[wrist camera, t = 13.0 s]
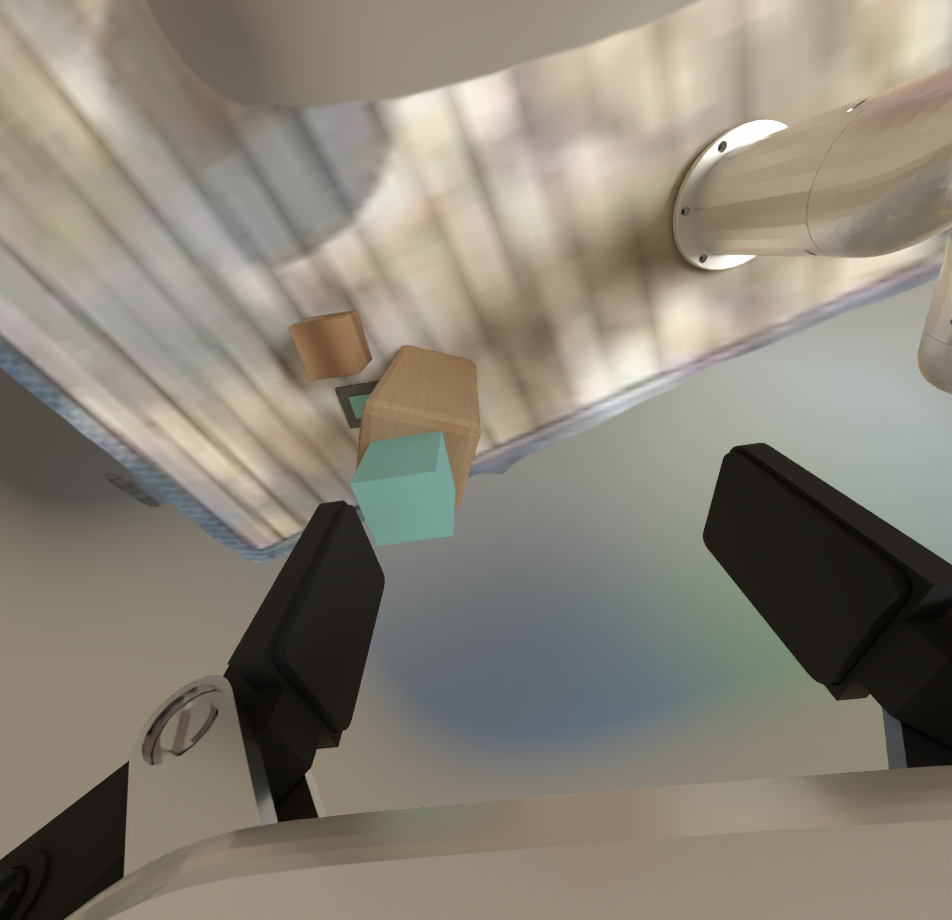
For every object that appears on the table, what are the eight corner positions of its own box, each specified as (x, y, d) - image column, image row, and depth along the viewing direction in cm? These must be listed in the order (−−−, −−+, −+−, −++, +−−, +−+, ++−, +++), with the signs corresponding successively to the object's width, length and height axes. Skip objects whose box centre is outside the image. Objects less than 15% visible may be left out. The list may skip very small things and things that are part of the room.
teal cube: (441, 430, 28) (435, 471, 23) (455, 488, 31) (453, 535, 26) (370, 441, 28) (349, 483, 23) (391, 497, 32) (377, 546, 26)
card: (378, 381, 46) (378, 382, 46) (391, 421, 49) (390, 422, 49) (336, 387, 46) (334, 389, 46) (351, 427, 50) (350, 428, 49)
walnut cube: (357, 309, 42) (341, 318, 36) (372, 358, 45) (359, 373, 40) (309, 317, 42) (287, 327, 37) (327, 365, 45) (309, 380, 40)
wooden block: (391, 411, 49) (351, 500, 32) (401, 341, 44) (359, 401, 26) (460, 427, 50) (457, 518, 33) (477, 360, 45) (484, 428, 28)
